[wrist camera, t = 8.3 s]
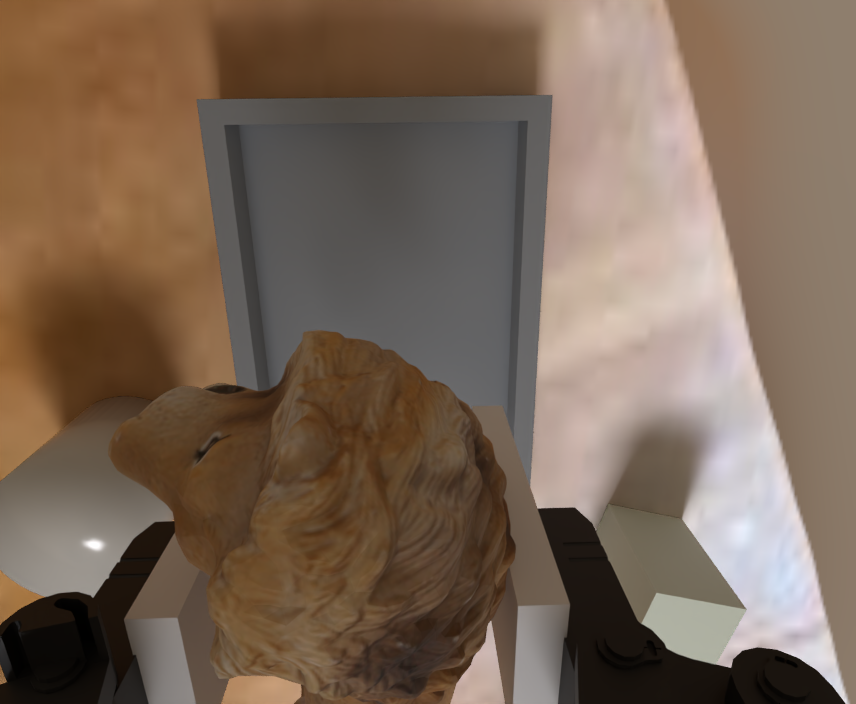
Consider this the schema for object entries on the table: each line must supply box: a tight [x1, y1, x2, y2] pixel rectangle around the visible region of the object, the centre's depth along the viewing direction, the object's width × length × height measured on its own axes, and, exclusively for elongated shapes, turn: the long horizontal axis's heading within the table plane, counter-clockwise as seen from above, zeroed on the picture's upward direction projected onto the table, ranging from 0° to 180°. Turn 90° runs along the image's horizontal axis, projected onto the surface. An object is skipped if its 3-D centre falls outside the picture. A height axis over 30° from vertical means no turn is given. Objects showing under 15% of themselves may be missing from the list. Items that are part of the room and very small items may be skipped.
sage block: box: [596, 504, 747, 664], centre depth 27 cm, size 4×4×6 cm
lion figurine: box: [108, 330, 516, 704], centre depth 11 cm, size 15×5×9 cm, turn 3°
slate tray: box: [197, 95, 552, 485], centre depth 24 cm, size 12×18×3 cm, turn 1°
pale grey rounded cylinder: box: [0, 396, 174, 597], centre depth 24 cm, size 6×6×6 cm
